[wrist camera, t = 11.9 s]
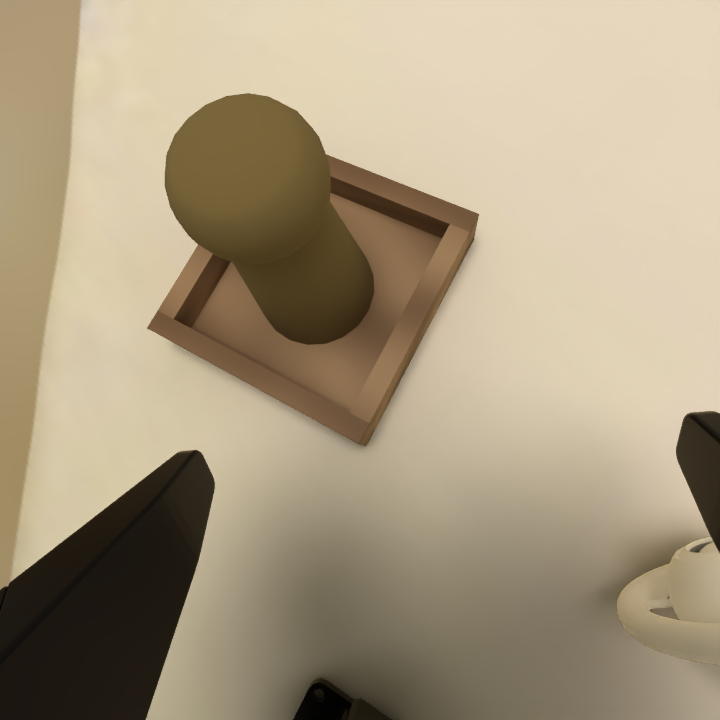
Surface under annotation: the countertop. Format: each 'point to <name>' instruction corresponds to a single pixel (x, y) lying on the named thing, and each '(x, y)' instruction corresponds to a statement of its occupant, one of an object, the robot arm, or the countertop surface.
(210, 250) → the cork
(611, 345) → the countertop surface
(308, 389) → the walnut tray
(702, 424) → the robot arm
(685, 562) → the ring around a ball
